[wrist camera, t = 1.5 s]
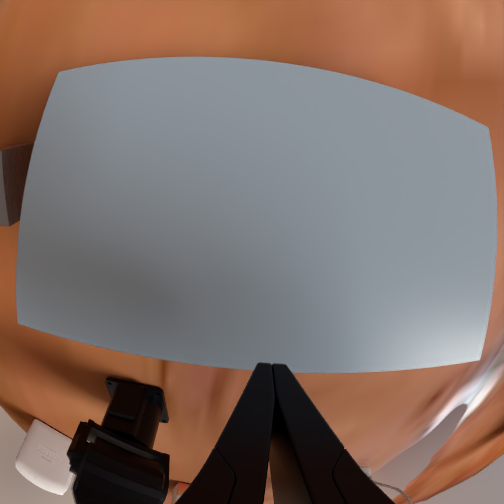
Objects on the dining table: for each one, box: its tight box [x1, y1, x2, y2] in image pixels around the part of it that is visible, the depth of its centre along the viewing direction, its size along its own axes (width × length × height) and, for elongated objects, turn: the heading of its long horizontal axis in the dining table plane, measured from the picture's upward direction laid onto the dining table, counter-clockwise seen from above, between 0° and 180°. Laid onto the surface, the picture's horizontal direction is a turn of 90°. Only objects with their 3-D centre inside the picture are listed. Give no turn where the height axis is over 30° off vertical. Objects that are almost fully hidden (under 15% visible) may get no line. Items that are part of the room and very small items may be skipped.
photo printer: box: [15, 419, 73, 495], centre depth 30 cm, size 10×4×12 cm, turn 57°
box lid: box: [16, 57, 497, 373], centre depth 10 cm, size 12×22×1 cm, turn 84°
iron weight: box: [0, 142, 35, 226], centre depth 15 cm, size 5×5×5 cm
